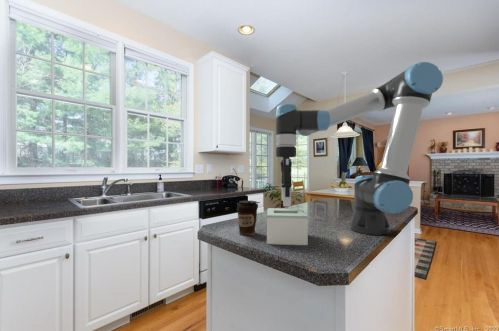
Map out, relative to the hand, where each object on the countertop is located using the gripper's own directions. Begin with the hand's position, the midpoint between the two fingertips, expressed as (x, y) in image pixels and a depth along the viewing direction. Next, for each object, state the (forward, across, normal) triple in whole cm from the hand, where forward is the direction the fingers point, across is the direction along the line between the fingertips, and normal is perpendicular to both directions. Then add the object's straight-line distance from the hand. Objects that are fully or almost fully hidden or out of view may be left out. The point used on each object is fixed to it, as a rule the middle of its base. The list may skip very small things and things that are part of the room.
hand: (285, 203), depth 90 cm
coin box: (+13, 0, 0) cm, 13 cm away
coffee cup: (+13, -5, -15) cm, 21 cm away
